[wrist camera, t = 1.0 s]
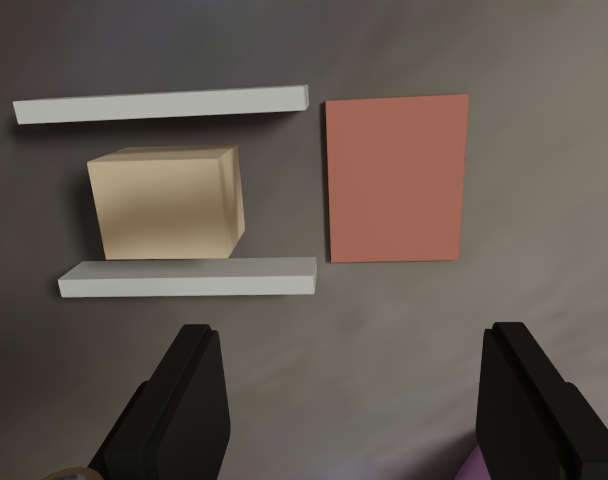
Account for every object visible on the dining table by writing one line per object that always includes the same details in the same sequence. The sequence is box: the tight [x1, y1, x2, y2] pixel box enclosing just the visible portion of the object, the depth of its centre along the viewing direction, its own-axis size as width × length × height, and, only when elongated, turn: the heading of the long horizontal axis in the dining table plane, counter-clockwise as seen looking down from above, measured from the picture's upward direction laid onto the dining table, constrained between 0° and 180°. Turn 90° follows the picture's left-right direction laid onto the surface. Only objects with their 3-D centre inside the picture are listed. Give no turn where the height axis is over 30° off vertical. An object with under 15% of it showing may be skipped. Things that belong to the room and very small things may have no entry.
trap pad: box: [326, 94, 469, 262], centre depth 28 cm, size 10×8×1 cm
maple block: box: [87, 144, 245, 259], centre depth 28 cm, size 6×7×5 cm
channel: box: [13, 85, 317, 297], centre depth 28 cm, size 12×16×3 cm
